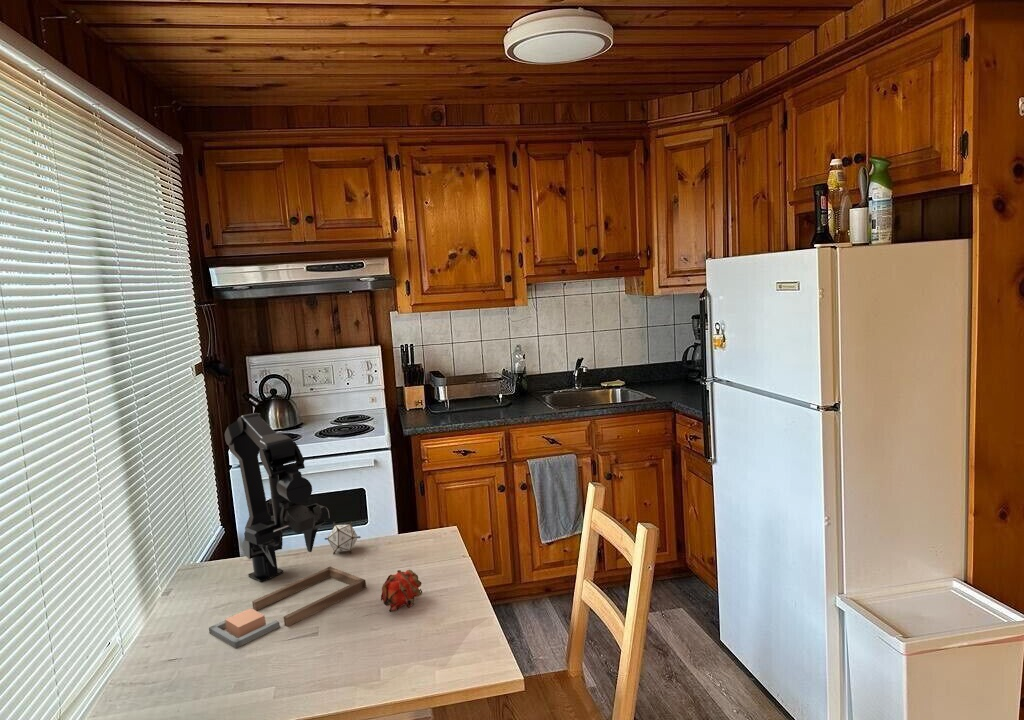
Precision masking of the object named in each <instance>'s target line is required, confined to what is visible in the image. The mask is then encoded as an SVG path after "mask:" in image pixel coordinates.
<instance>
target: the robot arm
mask: <svg viewBox="0 0 1024 720" xmlns="http://www.w3.org/2000/svg"><path fill="white" fill-rule="evenodd" d="M224 440H225V443H226V445H227V446H228V449H229V452H230V453H232V455H233V456H234V457H235V458H236V459H237V460H238V463H239V469H240V475H241V479H242V484H243V489H244V495H245V500H246V505H247V509H248V519H247V522H246V524H245V528H244V538H243V542H242V546H241V547H242V551H243V555H244V556H245V557H246V558H248V560H251V562H252V568H253V569H252V570H253V571H252V572H251V573H248V577H250V578H251V579H253V580H255V581H257V582H262V583H263V582H264V581H267V580H269V579H272V578H274V577H276V576H279V575H281V574H283V573H284V569H281V568H279V567H278V563H277V554H276V552H277V551H279V550H280V551H281V550H283V531H282V530H285V529H287V528H291V529H292V530H293V532H294V533H295V534H302V533H303V536H304V537H303V538H304V543H305V547H306V550H307V552H308V553H312V551H313V548H314V544H315V540H316V535H317V532H318V530H319V528H320V527H321V526H322V525H323V524H325V522H326V520H329V519H330V511H329V509H328V508H327V506H324V505H322V504H321V505H320V504H319V503H317V502H315V503H313V504H310V505H304V503H305V502H306V501H308V500H309V499H310V498H311V495H312V492H313V486H312V484H311V482H310V480H308V479H307V478H305V477H303V476H302V472H301V471H299V470H302V469H305V468H306V467H305V466H306V465H305V464H304V463H305V458H304V457H303V454H302V452H301V450H300V447H299V446H298V444H297V443H296V441H294V439H293V438H291V437H290V436H288V435H286V434H282V433H281V434H280V433H276V431H275V430H274V429H273V428H272V427H271V426H270V425H269V424H268V423H267V422H266V421H265V420H264V419H263V416H262V414H261V413H260V412H259V413H258V412H253V413H248V414H243V415H241V416H239V417H238V418H237V420H236V421H234V422H232V423H231V424H229V425H228V426H227V427H226V430H225V432H224ZM259 458H260V462H261V463H262V466H263V467H264V470H265V472H266V473H267V475H268V481H269V482H268V483H269V489H270V490H269V491H270V498H268V502H267V498H266V493H265V487H264V483H263V476H262V472H261V471H262V470H261V468H260V462H259ZM268 504H270V505H271V506H272V512H273V515H271V513H270V512H269V508H268Z"/></svg>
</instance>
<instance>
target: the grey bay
mask: <svg viewBox="0 0 1024 720" xmlns="http://www.w3.org/2000/svg"><path fill="white" fill-rule="evenodd" d="M251 608H252V609H253V607H251ZM253 610H255V609H253ZM280 627H281V626H280V621H279V620H277V619H276V620H275V619H274V620H273V621H272V622H269V623H267V624H266V625H265V626H263V627H261V628H259V629H256V630H254V631H252V632H250V633H248V634H246V635H244V636H242V637H240V638H237V637H236V636H234V635H232V634H231V633H229V632H227V631H225V630H224V629H226V622H225V619H224V620H222V621H220V622H218V623H215V624H213V625H212V626H209V627H208V631H209V633H210V635H213V636H214V637H216V638H218V639H219V640H221V641H223V642H225V643H226V644H228V645H229V646H231V647H233V648H235V649H237V648H239V647H241V646H244V645H245V644H247V643H249V642H251V641H254V640H256V639H258V638H260V637H262V636H264V635H266V634H268V633H270V632H272V631H274V630H276V629H278V628H280Z"/></svg>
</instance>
